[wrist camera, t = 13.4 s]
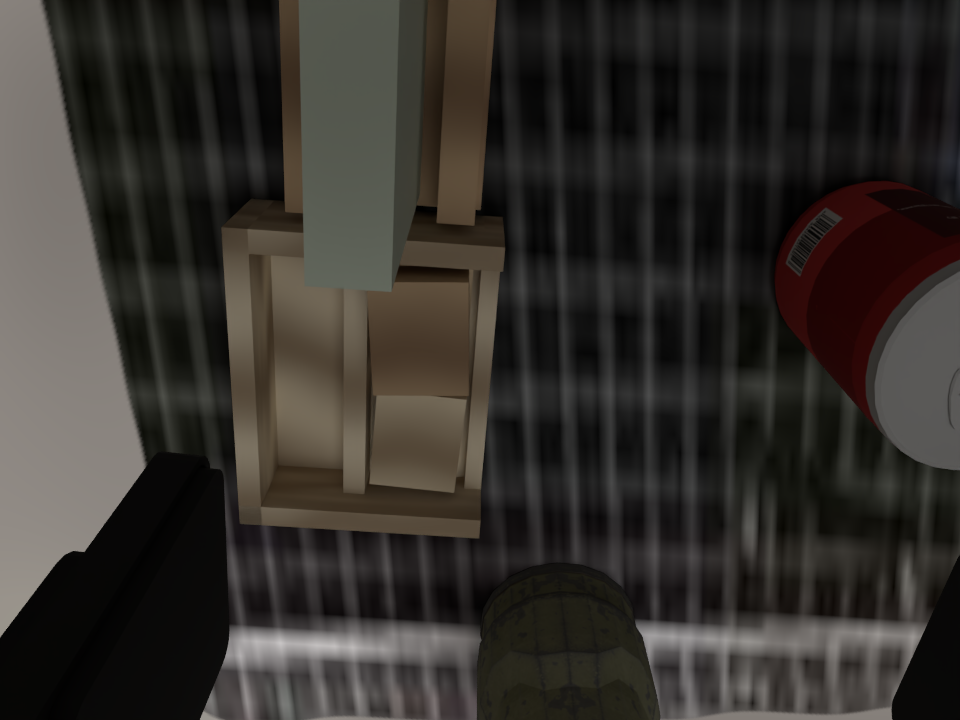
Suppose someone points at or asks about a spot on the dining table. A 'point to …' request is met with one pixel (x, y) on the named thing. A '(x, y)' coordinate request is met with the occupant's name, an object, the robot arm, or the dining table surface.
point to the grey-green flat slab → (360, 137)
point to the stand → (447, 106)
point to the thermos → (562, 650)
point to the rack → (339, 379)
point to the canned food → (882, 308)
